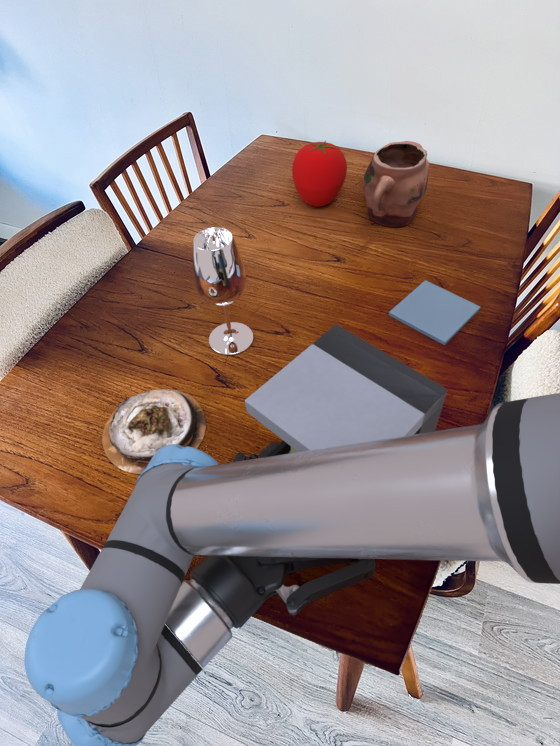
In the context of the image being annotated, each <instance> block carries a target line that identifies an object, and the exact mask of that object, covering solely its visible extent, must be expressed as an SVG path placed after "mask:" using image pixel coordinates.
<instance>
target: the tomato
mask: <svg viewBox="0 0 560 746" xmlns="http://www.w3.org/2000/svg"><path fill="white" fill-rule="evenodd" d="M347 172H348V163H347V159H346V157H345V153H344V152H343V151H342V150H341V148H340V147H338V146H337V145H335V144H333V143H331V142H327V140H325V141H316V142H311V143H307V144H305V145H303V146H302V147H301V148H300V149H299V150H298V151H297V152H296V153H295V156H294V158H293V162H292V166H291V175H292V177H291V178H292V182H293V185H294V188H295V189H296V191H297V194H298V195H299V197H300V198H301V200H302V201H303V202H304V203H306V204H307V205H309V206H311V207H316V208H319V207H323V206H326V205H329V204H330V203H331V202H333V200H334V199H336V197H337V196H338V195H339V194H340V191H341V190H342V187H343V185H344V183H345V180H346V177H347Z"/></svg>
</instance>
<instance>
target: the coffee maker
mask: <svg viewBox="0 0 560 746" xmlns="http://www.w3.org/2000/svg"><path fill="white" fill-rule="evenodd" d="M447 394H448V388H446V387H444V386H442V384H440V383H438V382H436V381H434V380H432V379H431V378H429V377H427V376H426V375H424V374H422V373H420V372H419V371H417V370H415V369H414V368H412V367H410V366H408V365H407V364H405V363H403V362H402V361H400V360H398V359H397V358H395V357H393V356H392V355H390V354H388V353H386V352H385V351H383V350H381V349H380V348H378V347H376V346H375V345H373V344H371V343H369V342H368V341H366V340H364V339H362V338H361V337H359V336H357V335H355V334H354V333H352V332H350V331H349V330H346V329H345V328H343V327H342V326H340V325H338V324H334V325H333V326H332V327H331V328H330V329H327V331H325V332H324V333H323V334H322V335H321V336H320V337H318V339H316V340H315V341H313V342H312V343H311V344H310V345H309V346H308V347H307V348H306V349H304V350H303V351H302V352H300V354H299V355H297V356H296V357H295V358H293V359H292V360H291V361H290V362H289V363H287V364H286V365H285V366H284V367H283V368H282V369H280V370H279V371H278V372H277V373H276V374H274V375H272V377H271V378H270V379H268V380H267V381H266V382H264V383H263V384H262V385H261V386H259V388H258V389H256V390H255V391H254V392H253V393H252V394H250V395H249V396H248V397H247V398H245V400H244V405H245V411H246V413H247V414H248V415H250V416H251V417H252V418H254V419H255V420H256V421H257V422H259V423H260V424H261V425H263V427H265V428H267V430H269V431H271V432H272V434H274V435H276V436H277V437H279V438H280V439H281V441H285V442H286V443H287V444H289V445H290V446H291V447H293V448H294V449H295V450H296V451H298V452H303V451H309V450H316V449H322V448H329V447H336V446H342V445H349V444H355V443H362V442H368V441H375V440H381V439H388V438H395V437H401V436H408V435H414V434H421V433H427V432H434V431H437V430H436V429H437V427H438V423H439V420H440V416H441V413H442V409H443V407H444V403H445V399H446V397H447Z"/></svg>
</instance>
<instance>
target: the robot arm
mask: <svg viewBox="0 0 560 746" xmlns="http://www.w3.org/2000/svg"><path fill="white" fill-rule="evenodd" d="M290 451H291V446H290V445H289V444H287V443H286V442H285V441H283V440H281V442H279V443H277V442H276V441H272V442H270V443H269V444H268V445H267V446H265V448H264V449H263V450H261V451H260V452H259V453H258V454H257V453H251V454H250V455H249V456H248V455H246V454H245V453H244V452H242V451H240V452H237V453H236V454H235V455H234V457H233V460H232V461H231V462H226V463H224V462H223V463H219V462H218V461H217V460H216V459H215V458H214V457H212V456H211V455H210V454H208V453H207V452H205V451H203V450H201V449H198V448H197V449H196V448H193V447H189V446H187V447H182V446H180V445H177V444H172V445H167V446H164V447H162V448H160V449H159V450H158V451H157V452H156V453H155V454H154V456H153V457H152V459H151V461H150V462H149V464H148V465H147V467H146V469H145V470H144V471H143V472H142V473H141V474H139V475H138V477H137V479H136V482H135V486H134V488H133V490H132V491H131V494H130V496H129V498H128V499H127V501H126V503H125V506H124V507H123V509H122V511H121V513H120V515H119V517H118V518H117V520H116V522H115V524H114V526H113V528H112V529H111V532H110V534H109V536H108V537H107V539H106V541H105V543H104V544H103V546H102V548H101V550H100V551H99V553H98V555H97V557H96V559H95V561H94V563H93V564H92V566H91V568H90V570H89V572H88V573H87V576H86V578H85V579H84V581H83V582H82V584H81V586H80V588H79V589H76V590H73V591H70V592H68V593H66V594H64V595H62V596H59V598H58V599H57V600H56V601H55V602H53V603H52V604H51V605H49V607H47V608H46V609H45V610H44V611H43V612H42V613H40V614H39V616H38V618H37V619H36V620H35V623H33V626H32V628H31V630H30V631H29V634H28V637H27V640H26V643H25V647H24V656H23V657H24V661H23V663H24V664H23V665H24V670H25V675H26V677H27V680H28V683H29V684H30V686H31V688H32V689H33V691H35V693H36V694H37V695H38V696H40V698H42V699H43V700H45V701H47V703H50V705H51V706H52V707H53V708H54V709H56V714H57V718H58V721H59V724H60V726H61V728H62V730H63V731H64V733H65V735H66V736H67V738H68V739H69V741H70V742H71V744H72V745H73V746H138V745H139V744H140V743H142V741H143V740H144V737H145V736H146V735H147V733H148V732H149V730H150V729H151V728H153V726H154V725H155V724H156V723H157V721H159V719H160V718H161V716H163V715H164V713H165V712H166V711H168V709H169V708H170V707H171V706H172V705H173V704H174V702H176V701H177V699H178V698H179V697H180V696H181V695H182V693H183V692H185V690H186V689H187V688H188V687H189V686H190V685H191V683H192V682H193V681H194V680H195V679H196V678H197V676H198V675H200V673H201V672H202V671H203V669H204V668H206V666H207V665H208V664H209V663H211V661H212V660H213V659H214V658H215V656H216V655H218V654H219V652H220V651H221V650H222V649H223V648H224V647H225V646H227V643H229V641H230V640H232V638H233V632H232V629H233V628H235V629H241V628H242V627H243V626H244V625H245V624H247V622H248V621H249V620H250V618H252V616H253V615H254V614H255V613H256V612H257V611H258V610H259V609H260V608H261V607H262V606H263V604H264V603H265V602H266V601H267V600H268V599H269V598H270V597H272V596H275V595H276V596H277V597H278V598H279V599H280V601H282V603H283V604H284V605H285V606H286V610H287V613H288V614H289V615H290V616H296V615H298V614H299V613H300V612H301V611H302V610H303V609H304V608H305V607H307V606H308V605H309V604H310V603H312V602H315V601H318V600H320V599H322V598H324V597H327V596H329V595H333V594H334V593H337V592H340V591H341V590H344V589H347V588H349V587H351V586H354V585H356V584H359V583H361V582H364V581H367V580H369V579H371V578H372V577H374V574H375V570H376V565H377V564H376V561H375V560H401V561H403V560H407V561H410V560H411V561H451V562H454V561H455V562H456V561H458V562H459V561H460V562H504V563H506V564H507V565H508V566H509V567H511V569H513V570H514V571H515V572H516V573H517V574H518V575H519V576H520V577H521V578H522V579H524V580H525V581H526V582H528V583H533V584H550V585H560V392H557V393H556V392H555V393H550V394H544V395H537V396H532V397H531V396H530V397H527V398H522V399H521V398H520V399H515V400H508V401H504V402H499V403H498V404H496V405H495V406H493V408H492V409H491V411H490V412H489V414H488V415H487V417H486V418H485V420H484V421H483V423H480V424H473V425H468V426H467V425H466V426H460V427H453V428H448V429H441V430H435V431H434V432H427V433H421V434H414V435H408V436H401V437H395V438H388V439H381V440H375V441H368V442H362V443H355V444H349V445H342V446H336V447H329V448H322V449H316V450H309V451H303V452H296V453H290V454H289V452H290ZM194 557H203V558H202V559H200V560H199V561H198V562H197V564H195V565H194V566H193V568H191V569H190V571H189V572H190V573H189V578H190V579H185V578H186V575H187V573H188V570H189V568H190V566H191V564H192V562H193V559H194ZM340 565H347V566H344V567H342V568H339V569H337V570H335V571H332V572H329V573H327V574H325V575H321V576H320V577H317V578H314V579H312V580H309V581H307V582H306V583H303V584H301V585H300V586H299V585H297V584H292V585H290V586H286V585H285V582H286V574H292V573H299V572H301V571H303V570H309V569H317V568H326V567H332V566H340Z"/></svg>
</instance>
